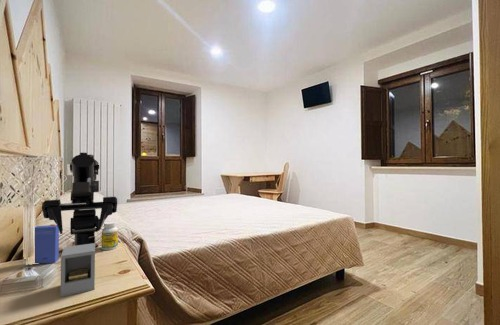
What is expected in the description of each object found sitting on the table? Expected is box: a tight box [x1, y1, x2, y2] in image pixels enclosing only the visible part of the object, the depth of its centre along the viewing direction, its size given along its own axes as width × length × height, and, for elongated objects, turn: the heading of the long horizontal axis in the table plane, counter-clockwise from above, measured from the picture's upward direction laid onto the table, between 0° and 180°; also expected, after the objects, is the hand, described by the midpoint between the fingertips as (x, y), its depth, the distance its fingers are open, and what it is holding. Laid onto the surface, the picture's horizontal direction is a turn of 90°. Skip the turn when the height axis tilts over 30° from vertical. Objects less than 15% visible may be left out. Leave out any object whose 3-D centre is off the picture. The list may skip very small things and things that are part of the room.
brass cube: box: [69, 268, 88, 282], centre depth 65 cm, size 4×4×4 cm
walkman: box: [34, 223, 60, 264], centre depth 80 cm, size 8×3×12 cm, turn 109°
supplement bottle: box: [101, 221, 119, 251], centre depth 94 cm, size 5×5×10 cm
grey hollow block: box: [59, 242, 96, 298], centre depth 65 cm, size 7×7×10 cm
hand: (81, 230), depth 71 cm, fingers open, 9 cm apart
